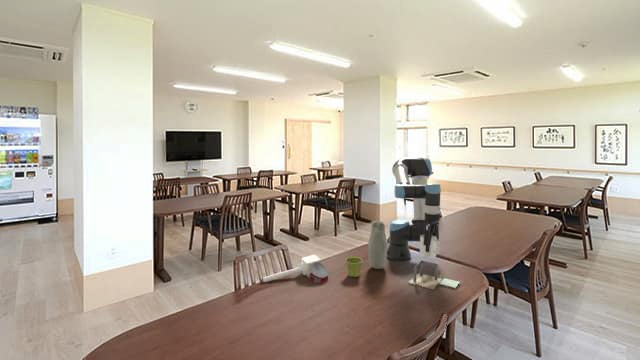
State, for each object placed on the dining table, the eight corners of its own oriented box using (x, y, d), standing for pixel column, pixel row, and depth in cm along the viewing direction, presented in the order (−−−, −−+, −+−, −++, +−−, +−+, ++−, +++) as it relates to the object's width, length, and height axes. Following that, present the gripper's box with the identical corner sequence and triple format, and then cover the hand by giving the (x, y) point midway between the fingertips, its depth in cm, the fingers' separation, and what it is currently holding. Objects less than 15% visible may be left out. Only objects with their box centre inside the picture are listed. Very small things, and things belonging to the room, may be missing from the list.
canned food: (323, 284, 187) (332, 268, 187) (324, 290, 177) (333, 273, 177) (305, 275, 186) (313, 259, 186) (305, 280, 176) (313, 263, 176)
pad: (439, 285, 173) (439, 283, 173) (444, 280, 179) (444, 278, 179) (455, 289, 168) (455, 287, 168) (460, 283, 174) (460, 281, 174)
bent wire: (412, 281, 175) (413, 265, 174) (420, 275, 184) (420, 259, 183) (430, 286, 170) (431, 269, 169) (437, 279, 178) (438, 263, 177)
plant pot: (351, 279, 181) (351, 264, 180) (342, 273, 189) (342, 258, 188) (365, 276, 185) (365, 261, 184) (356, 270, 193) (356, 256, 192)
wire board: (408, 283, 175) (408, 281, 175) (418, 274, 186) (418, 273, 186) (433, 290, 167) (433, 288, 167) (442, 280, 178) (442, 278, 178)
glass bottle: (365, 268, 196) (365, 221, 193) (375, 263, 204) (375, 218, 200) (379, 273, 189) (380, 224, 186) (389, 267, 197) (390, 221, 194)
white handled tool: (321, 259, 185) (264, 275, 174) (323, 274, 187) (266, 291, 175) (315, 254, 194) (260, 269, 183) (316, 268, 195) (262, 284, 184)
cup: (432, 260, 170) (433, 241, 169) (416, 254, 181) (416, 235, 180) (444, 258, 173) (445, 239, 172) (428, 251, 184) (428, 233, 183)
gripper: (431, 217, 165) (430, 262, 167) (446, 210, 181) (445, 251, 183) (417, 215, 170) (416, 259, 172) (432, 209, 186) (431, 249, 188)
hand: (431, 255), depth 178 cm, fingers closed on cup, 8 cm apart
